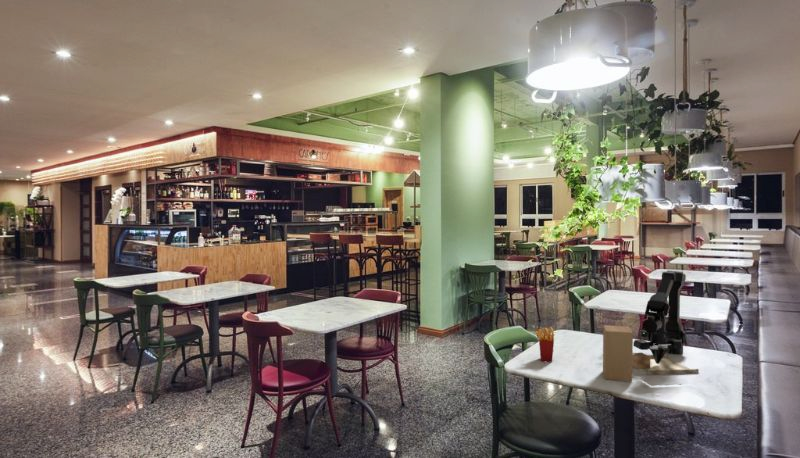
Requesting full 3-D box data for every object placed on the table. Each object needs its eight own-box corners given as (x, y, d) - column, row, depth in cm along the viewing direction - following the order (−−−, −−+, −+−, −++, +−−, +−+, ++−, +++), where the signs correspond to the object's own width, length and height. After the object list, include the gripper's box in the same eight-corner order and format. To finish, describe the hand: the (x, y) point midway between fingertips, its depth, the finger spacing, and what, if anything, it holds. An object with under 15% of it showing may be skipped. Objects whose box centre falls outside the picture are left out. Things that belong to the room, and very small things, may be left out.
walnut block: (641, 363, 201) (641, 352, 201) (650, 368, 195) (650, 357, 195) (628, 364, 201) (628, 353, 200) (636, 369, 195) (636, 357, 194)
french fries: (554, 363, 205) (554, 330, 205) (535, 361, 208) (535, 328, 207) (554, 357, 214) (554, 325, 213) (535, 355, 216) (535, 324, 216)
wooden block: (628, 373, 192) (629, 326, 191) (632, 382, 182) (632, 332, 181) (602, 371, 195) (603, 324, 194) (605, 379, 186) (605, 330, 185)
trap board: (666, 358, 209) (666, 354, 209) (698, 374, 189) (698, 369, 189) (620, 360, 208) (620, 355, 207) (647, 377, 188) (647, 371, 188)
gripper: (666, 322, 206) (665, 356, 207) (626, 323, 205) (626, 358, 206) (683, 329, 195) (682, 364, 196) (641, 330, 194) (640, 366, 195)
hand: (657, 363), depth 199 cm, fingers closed
